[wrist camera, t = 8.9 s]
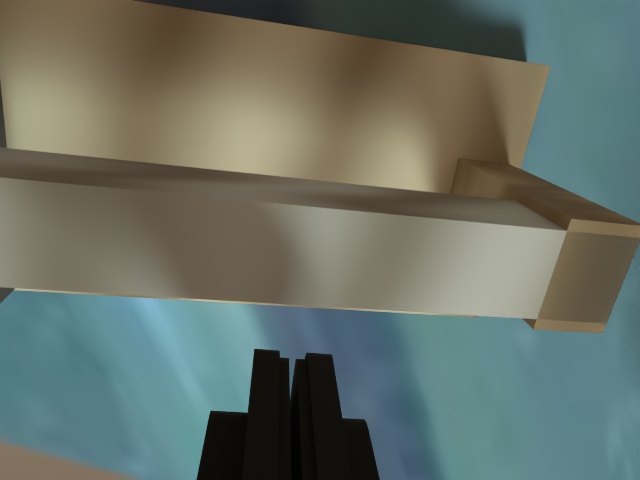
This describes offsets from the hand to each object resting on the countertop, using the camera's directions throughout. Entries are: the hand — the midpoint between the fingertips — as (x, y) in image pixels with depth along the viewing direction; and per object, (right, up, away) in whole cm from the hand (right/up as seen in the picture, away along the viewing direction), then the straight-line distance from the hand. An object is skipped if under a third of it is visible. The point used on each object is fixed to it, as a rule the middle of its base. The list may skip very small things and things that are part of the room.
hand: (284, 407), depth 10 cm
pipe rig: (-5, +7, +7) cm, 11 cm away
